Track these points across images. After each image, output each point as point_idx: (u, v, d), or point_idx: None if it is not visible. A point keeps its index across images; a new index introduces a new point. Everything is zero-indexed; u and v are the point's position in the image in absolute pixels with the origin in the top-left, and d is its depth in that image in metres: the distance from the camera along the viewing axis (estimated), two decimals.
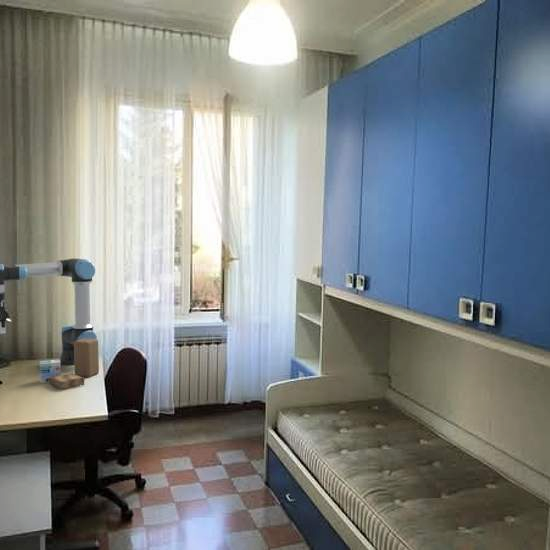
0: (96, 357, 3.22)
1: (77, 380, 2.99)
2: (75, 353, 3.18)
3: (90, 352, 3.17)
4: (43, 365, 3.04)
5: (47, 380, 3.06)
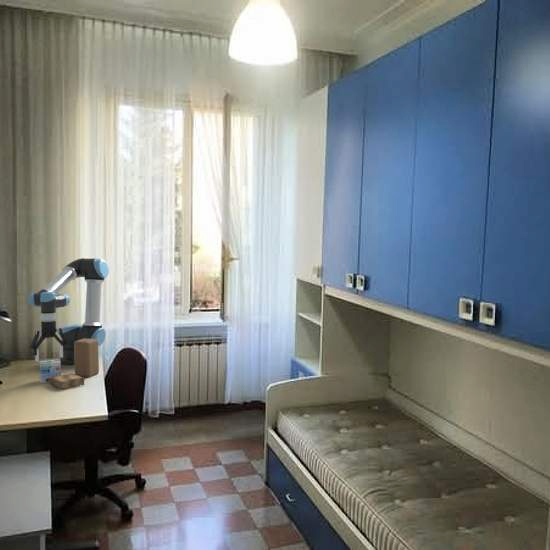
0: (96, 357, 3.22)
1: (77, 380, 2.99)
2: (75, 353, 3.18)
3: (90, 352, 3.17)
4: (43, 365, 3.04)
5: (47, 380, 3.06)
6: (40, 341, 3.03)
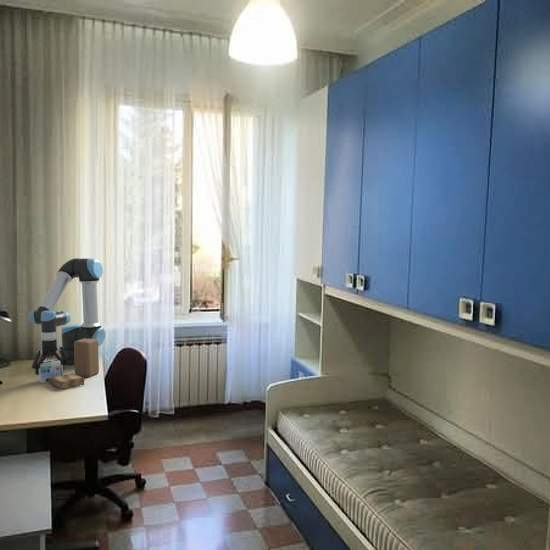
0: (96, 357, 3.22)
1: (77, 380, 2.99)
2: (75, 353, 3.18)
3: (90, 352, 3.17)
4: (43, 365, 3.04)
5: (47, 380, 3.06)
6: (41, 360, 3.04)
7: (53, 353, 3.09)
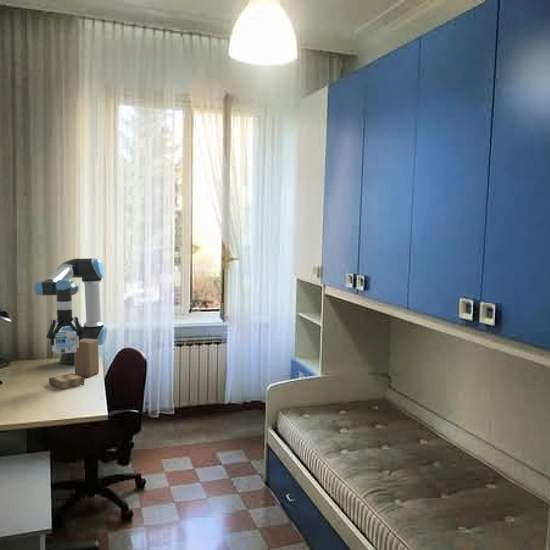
0: (96, 357, 3.22)
1: (77, 380, 2.99)
2: (75, 353, 3.18)
3: (90, 352, 3.17)
4: (58, 335, 2.95)
5: (62, 351, 2.96)
6: (57, 330, 2.94)
7: (68, 323, 2.99)
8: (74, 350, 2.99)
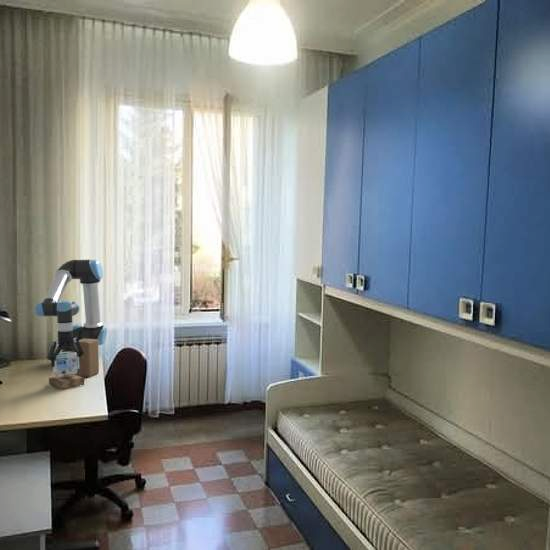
0: (96, 357, 3.22)
1: (77, 380, 2.99)
2: None
3: (90, 352, 3.17)
4: (59, 357, 2.96)
5: (63, 372, 2.97)
6: (57, 352, 2.95)
7: (69, 344, 3.00)
8: (74, 371, 3.00)
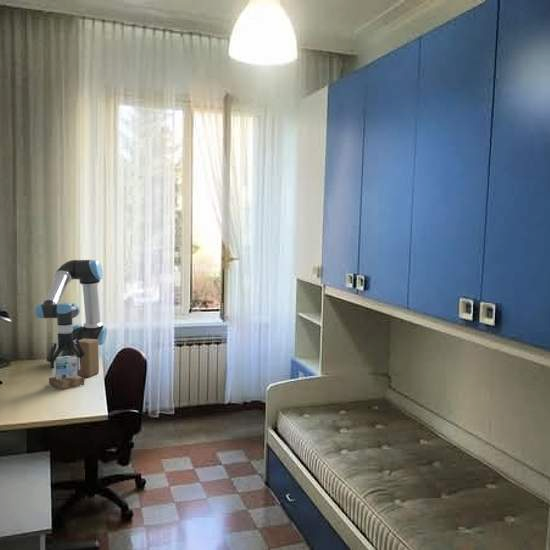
0: (96, 357, 3.22)
1: (77, 380, 2.99)
2: None
3: (90, 352, 3.17)
4: (59, 361, 2.96)
5: (63, 376, 2.97)
6: (57, 354, 2.95)
7: (69, 346, 3.00)
8: (75, 376, 3.00)
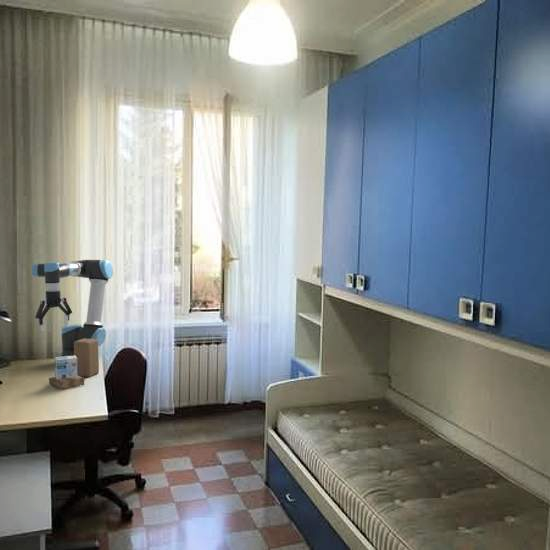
0: (96, 357, 3.22)
1: (77, 380, 2.99)
2: (75, 353, 3.18)
3: (90, 352, 3.17)
4: (59, 361, 2.96)
5: (63, 376, 2.97)
6: (45, 311, 3.05)
7: (57, 304, 3.10)
8: (75, 376, 3.00)
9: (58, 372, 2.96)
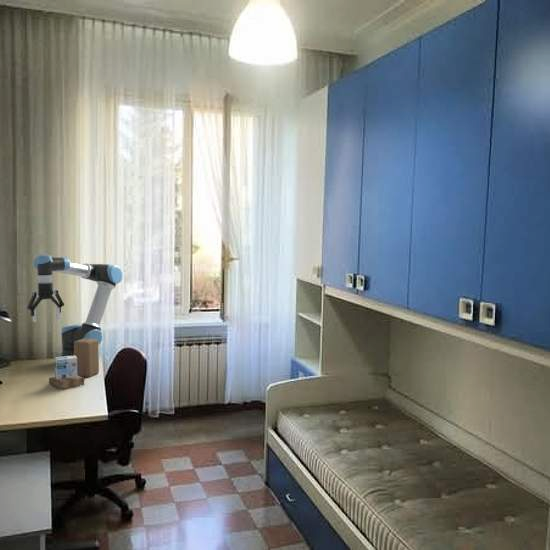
0: (96, 357, 3.22)
1: (77, 380, 2.99)
2: (75, 353, 3.18)
3: (90, 352, 3.17)
4: (59, 361, 2.96)
5: (63, 376, 2.97)
6: (37, 302, 3.12)
7: (49, 296, 3.17)
8: (75, 376, 3.00)
9: (58, 372, 2.96)
